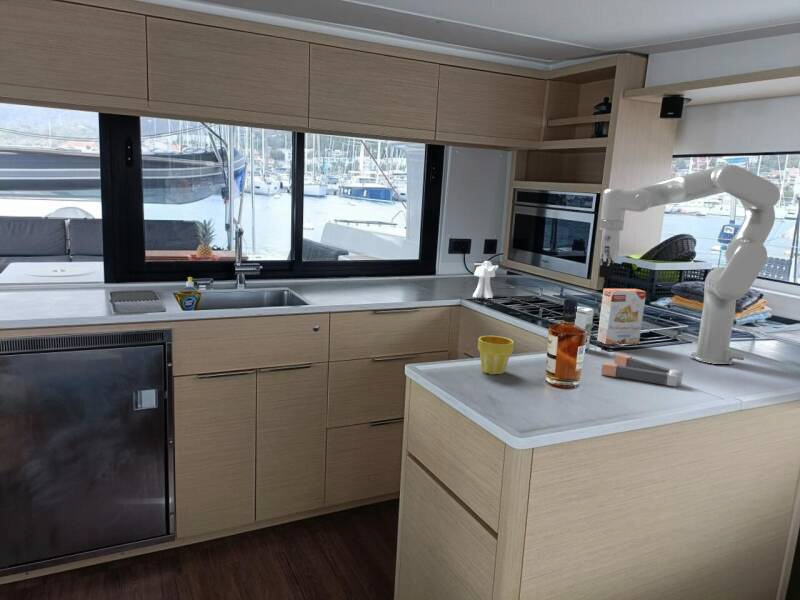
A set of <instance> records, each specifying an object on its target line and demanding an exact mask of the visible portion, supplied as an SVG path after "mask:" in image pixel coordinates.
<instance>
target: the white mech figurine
mask: <svg viewBox="0 0 800 600" xmlns="http://www.w3.org/2000/svg"><path fill="white" fill-rule="evenodd" d="M478 265H479V266H478ZM473 266H476V268H475V270H474V273H473V276H475V277H478V283H477V287H476V288H475V290H474V292H473V294H472V298H474V297H475V299H476V298H477V297H479V298H484V297H485V298H484V299H488V298H492V299H493V297H494V293H493V290H492V287H491V278H495V277H496V273H495V272H496V271H497V269H498V268H500V267H499V265H498V264H496V265H493V264H492V262H491V261H490V260H485V261H483V263H482V262H479V263H478V262H477V263H476V262H474V263H473ZM477 299H478V298H477Z"/></svg>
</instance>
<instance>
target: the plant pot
mask: <svg viewBox="0 0 800 600" xmlns="http://www.w3.org/2000/svg"><path fill="white" fill-rule="evenodd" d="M477 342H478V343H477V349H478V351H479V355H480V356H479V357H480V365H481V366H480V367H481V371H482V372H483V373H485V374H487V373H489V374H488V375H492V374H500V375H503V374H504V373H505V371H506V368H507V365H508V362H509V359H510V355H512V354H513V351H514V340H512V339H511V338H509V337H504V336H499V335H481V336H479V337H478V341H477ZM502 373H503V374H502Z"/></svg>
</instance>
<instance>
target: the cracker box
mask: <svg viewBox="0 0 800 600" xmlns="http://www.w3.org/2000/svg"><path fill="white" fill-rule="evenodd" d="M646 297H647V291H646V290H641V289H637V288H603V290H602V299H601V308H600V315H599V324H598V330H597V339H596V342H597V341H600V342H602V343H604V344H612V343H619V344H639V345H640V339H641V330H642V323H643V318H644V310H645V305H646V304H645V303H646Z"/></svg>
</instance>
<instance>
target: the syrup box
mask: <svg viewBox="0 0 800 600" xmlns="http://www.w3.org/2000/svg"><path fill="white" fill-rule="evenodd" d="M594 312H595V309H593V308H590V307H586V306H577V312H576V319H575V325H576V326H578V327H580V328H582V329H585V330H586V331H587V342H586V349H587V350H589V349H590V341H591V334H592V325H593V319H594ZM588 348H589V349H588Z"/></svg>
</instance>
